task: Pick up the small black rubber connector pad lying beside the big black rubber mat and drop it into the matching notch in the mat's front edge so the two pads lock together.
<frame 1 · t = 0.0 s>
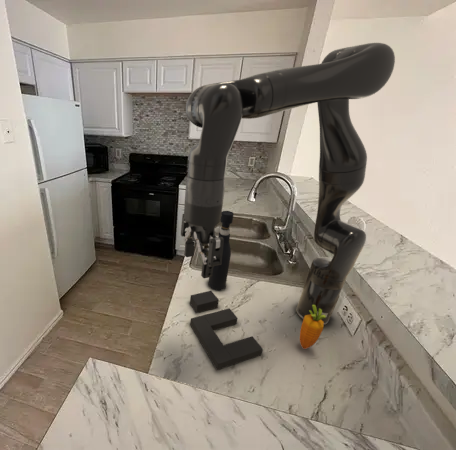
hand: (197, 265, 58), 29 cm above the countertop, tool pointing down, fingers open, 8 cm apart
wine bottle: (216, 285, 97), on the countertop
connector pad: (203, 305, 87), on the countertop
base mat: (223, 338, 75), on the countertop
carrot: (303, 348, 72), on the countertop
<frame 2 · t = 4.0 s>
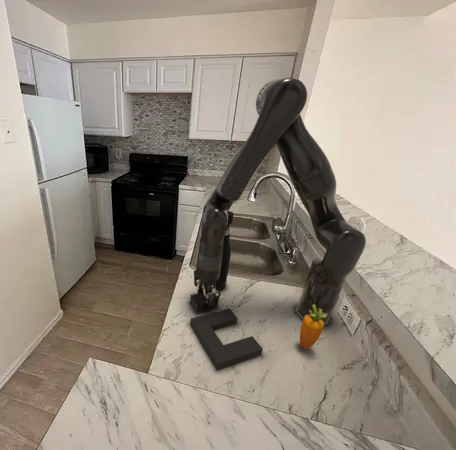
hand: (203, 304, 87), 0 cm above the countertop, tool pointing down, fingers closed on connector pad, 5 cm apart
connector pad: (203, 305, 87), on the countertop, touching gripper
everything else where it was.
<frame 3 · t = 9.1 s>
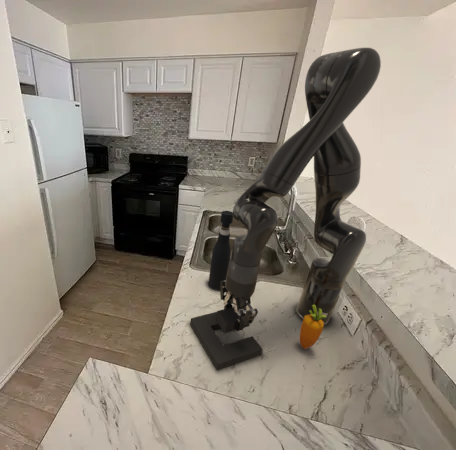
hand: (232, 321, 73), 6 cm above the countertop, tool pointing down, fingers closed on connector pad, 5 cm apart
connector pad: (232, 323, 73), point 6 cm above the countertop, touching gripper
everything else where it was.
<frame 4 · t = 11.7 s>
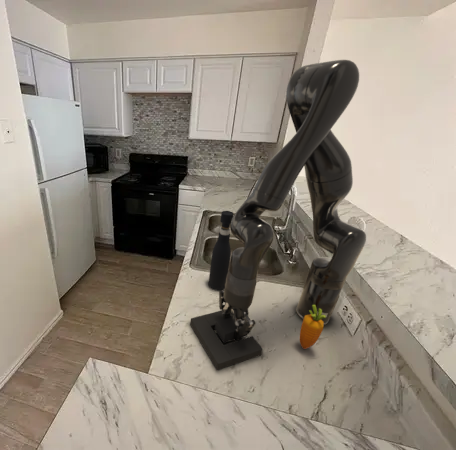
hand: (231, 331, 75), 2 cm above the countertop, tool pointing down, fingers closed on connector pad, 5 cm apart
connector pad: (230, 332, 75), point 2 cm above the countertop, touching gripper
everything else where it was.
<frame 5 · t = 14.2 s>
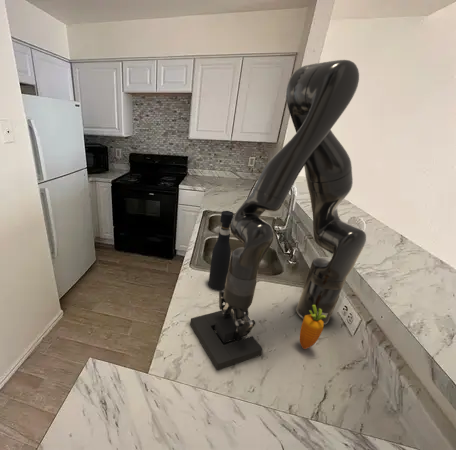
hand: (230, 331, 75), 2 cm above the countertop, tool pointing down, fingers closed on connector pad, 5 cm apart
connector pad: (230, 332, 75), point 2 cm above the countertop, touching gripper
everything else where it was.
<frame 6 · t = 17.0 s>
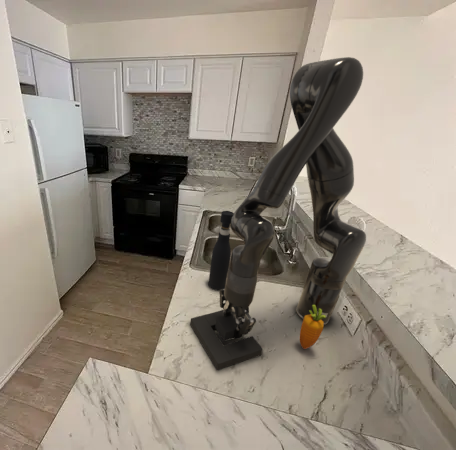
hand: (231, 329, 74), 3 cm above the countertop, tool pointing down, fingers closed on connector pad, 5 cm apart
connector pad: (231, 330, 74), point 2 cm above the countertop, touching gripper
everything else where it was.
when the fingers open (3 cm above the countertop, at t = 19.6 s): connector pad drops 3 cm, resting in base mat.
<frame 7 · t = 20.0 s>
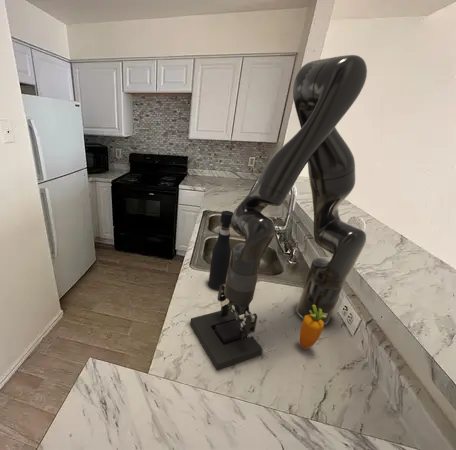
hand: (231, 326, 74), 4 cm above the countertop, tool pointing down, fingers open, 8 cm apart
connector pad: (230, 337, 75), resting in base mat
everything else where it was.
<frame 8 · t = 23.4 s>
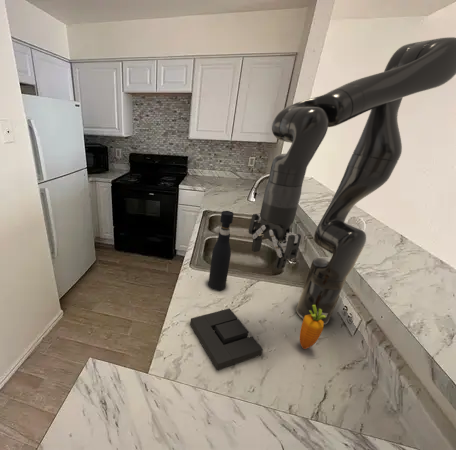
hand: (266, 259, 66), 26 cm above the countertop, tool pointing down, fingers open, 8 cm apart
nothing on the countertop moved.
at the end: connector pad 0.1 cm from the target spot on the base mat, point 0.0 cm above the base mat's base; connector pad tilted 0°; the gripper is holding nothing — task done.
